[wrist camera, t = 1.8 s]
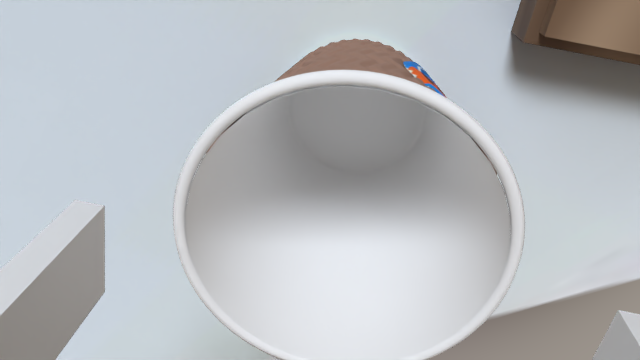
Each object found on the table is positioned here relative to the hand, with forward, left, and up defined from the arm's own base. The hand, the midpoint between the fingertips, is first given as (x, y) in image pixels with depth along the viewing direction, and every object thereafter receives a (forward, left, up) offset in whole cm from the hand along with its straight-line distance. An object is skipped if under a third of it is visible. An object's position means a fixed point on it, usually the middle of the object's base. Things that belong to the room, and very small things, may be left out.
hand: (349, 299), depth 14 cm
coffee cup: (0, 0, -14) cm, 14 cm away
